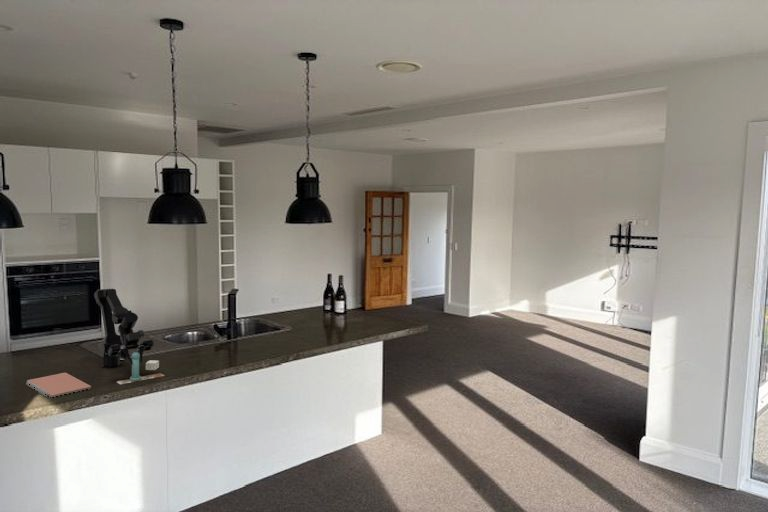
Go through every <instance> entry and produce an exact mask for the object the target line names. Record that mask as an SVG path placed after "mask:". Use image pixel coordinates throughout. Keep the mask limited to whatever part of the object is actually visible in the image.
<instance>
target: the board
mask: <svg viewBox="0 0 768 512" xmlns="http://www.w3.org/2000/svg"><path fill="white" fill-rule="evenodd" d="M160 377H165V374H163V373H162V372H160V373H153V374H149V375H144V376H141V380H139V381H138V382H141V381H145V380H149V379H151V380H152V379H154V378H160ZM134 382H137V381H130V378H129V379H128V378H127V379H123V380H118V381H116V383H117V384H119V385H124V384H130V383H134Z"/></svg>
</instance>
